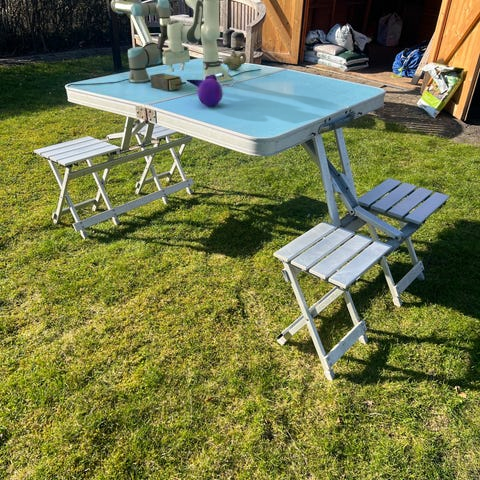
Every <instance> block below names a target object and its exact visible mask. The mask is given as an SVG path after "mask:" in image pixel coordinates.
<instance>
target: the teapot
mask: <svg viewBox="0 0 480 480" xmlns="http://www.w3.org/2000/svg"><path fill="white" fill-rule="evenodd" d="M241 58H242V59H241ZM222 61H223V62H224V63H223V65H225V66H227V69H228V71H229V70H230V71H238V70H239V69H240V68H241V67H242V65H244V64H245V63H246V61H247V56H246V53H245V52H243V51H242V52H239V54H237V53H236V52H235V50H232V51H231V54H230V56H226V57H224V58H223V60H222Z"/></svg>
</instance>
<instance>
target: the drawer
mask: <svg viewBox="0 0 480 480" xmlns="http://www.w3.org/2000/svg"><path fill="white" fill-rule="evenodd" d="M168 81H169V89H170V90H173V91H175V90H174V89H178V90H180V89H179V88H181V89H183V86H184V85H187V81H183V79H182V78H181V77H180V79H173V80H168Z"/></svg>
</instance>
